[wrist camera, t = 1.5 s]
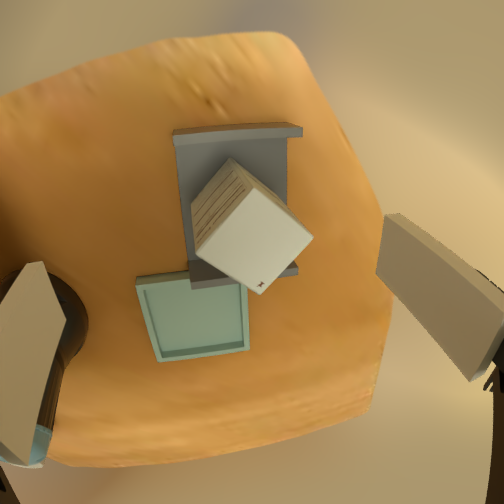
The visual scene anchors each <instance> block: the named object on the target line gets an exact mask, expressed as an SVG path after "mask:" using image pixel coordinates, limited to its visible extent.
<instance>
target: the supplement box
mask: <svg viewBox="0 0 504 504" xmlns="http://www.w3.org/2000/svg"><path fill="white" fill-rule="evenodd" d="M191 214H192V224H193V234H194V243H195V254H196V255H197V256H198V257H200V258H201V259H203V260H204V261H206V262H208V263H209V264H211V265H212V266H214V267H216V268H217V269H219V270H220V271H222V272H223V273H225V274H226V275H228V276H229V277H231V278H232V279H234V280H236V281H238V282H239V283H241V284H242V285H244V286H246V287H247V288H249V289H250V290H252V291H254V292H255V293H257V294H258V295H261V294H262V293H263V291H264V290H265V289H266V288H267V287H268V286H269V285H270V284H271V283H272V282H273V281H274V280H275V279H276V278H277V277H278V276H279V275H280V274H281V273H282V272H283V271H284V270H285V268H286V267H287V266H288V265H289V264H290V263H291V262H292V261H293V260H294V259H295V258H296V257H297V256H298V255H299V253H300V252H301V251H302V250H303V249H304V248H305V247H306V246H307V245H308V244H309V243H310V242H311V240H312V239H313V235H312V234H311V233H310V232H309V231H308V230H307V229H306V228H305V226H304V225H303V224H302V223H301V222H300V221H299V220H298V218H297V217H296V216H295V215H294V214H293V213H292V212H291V210H290V209H289V208H288V207H287V206H286V205H285V204H284V203H283V201H282V200H281V199H280V198H279V197H278V196H277V195H276V194H275V193H274V192H273V191H271V190H270V189H269V188H268V187H266V186H265V185H264V184H263V183H262V182H260V181H259V180H258V179H257V178H256V177H254V176H253V175H252V174H251V173H249V172H248V171H247V170H246V169H245V168H243V167H242V166H241V165H240V164H238V163H237V162H236V161H235V160H234V159H233V158H231V157H229V158H228V160H227V161H226V162H225V163H224V164H223V166H222V167H221V168H220V169H219V170H218V171H217V173H216V174H215V175H214V176H213V177H212V179H211V180H210V181H209V182H208V183H207V185H206V186H205V187H204V188H203V189H202V191H201V192H200V193H199V194H198V196H197V197H196V198H195V199H194V201H193V202H192V203H191Z"/></svg>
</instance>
